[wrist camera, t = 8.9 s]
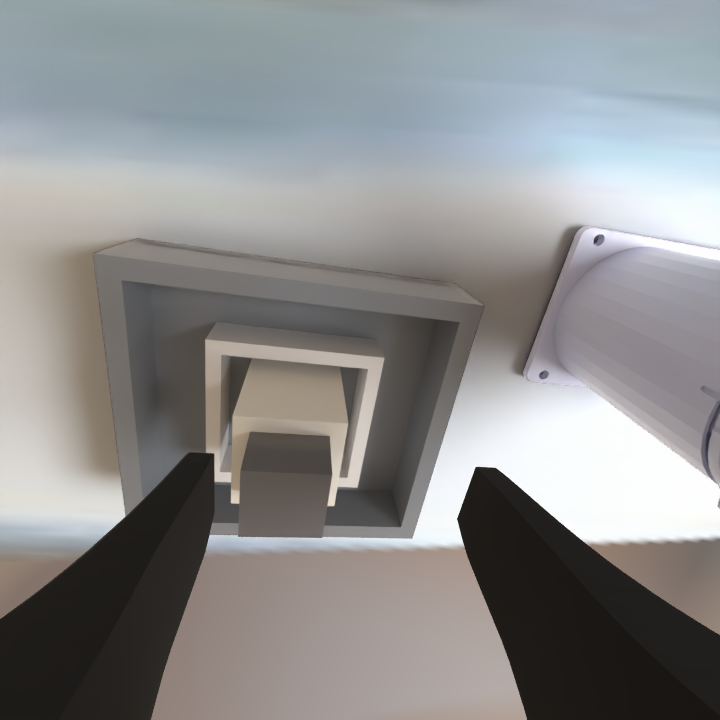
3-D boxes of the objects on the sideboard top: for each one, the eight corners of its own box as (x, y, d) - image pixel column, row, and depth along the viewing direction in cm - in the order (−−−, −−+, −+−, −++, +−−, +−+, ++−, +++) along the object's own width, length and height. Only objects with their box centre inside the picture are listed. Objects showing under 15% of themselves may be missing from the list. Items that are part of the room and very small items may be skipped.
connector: (339, 362, 18) (353, 460, 12) (329, 431, 20) (337, 550, 13) (253, 354, 17) (219, 454, 11) (249, 426, 19) (219, 549, 13)
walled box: (454, 283, 18) (484, 305, 15) (398, 490, 23) (412, 538, 20) (136, 238, 16) (92, 253, 13) (155, 480, 21) (127, 533, 18)
